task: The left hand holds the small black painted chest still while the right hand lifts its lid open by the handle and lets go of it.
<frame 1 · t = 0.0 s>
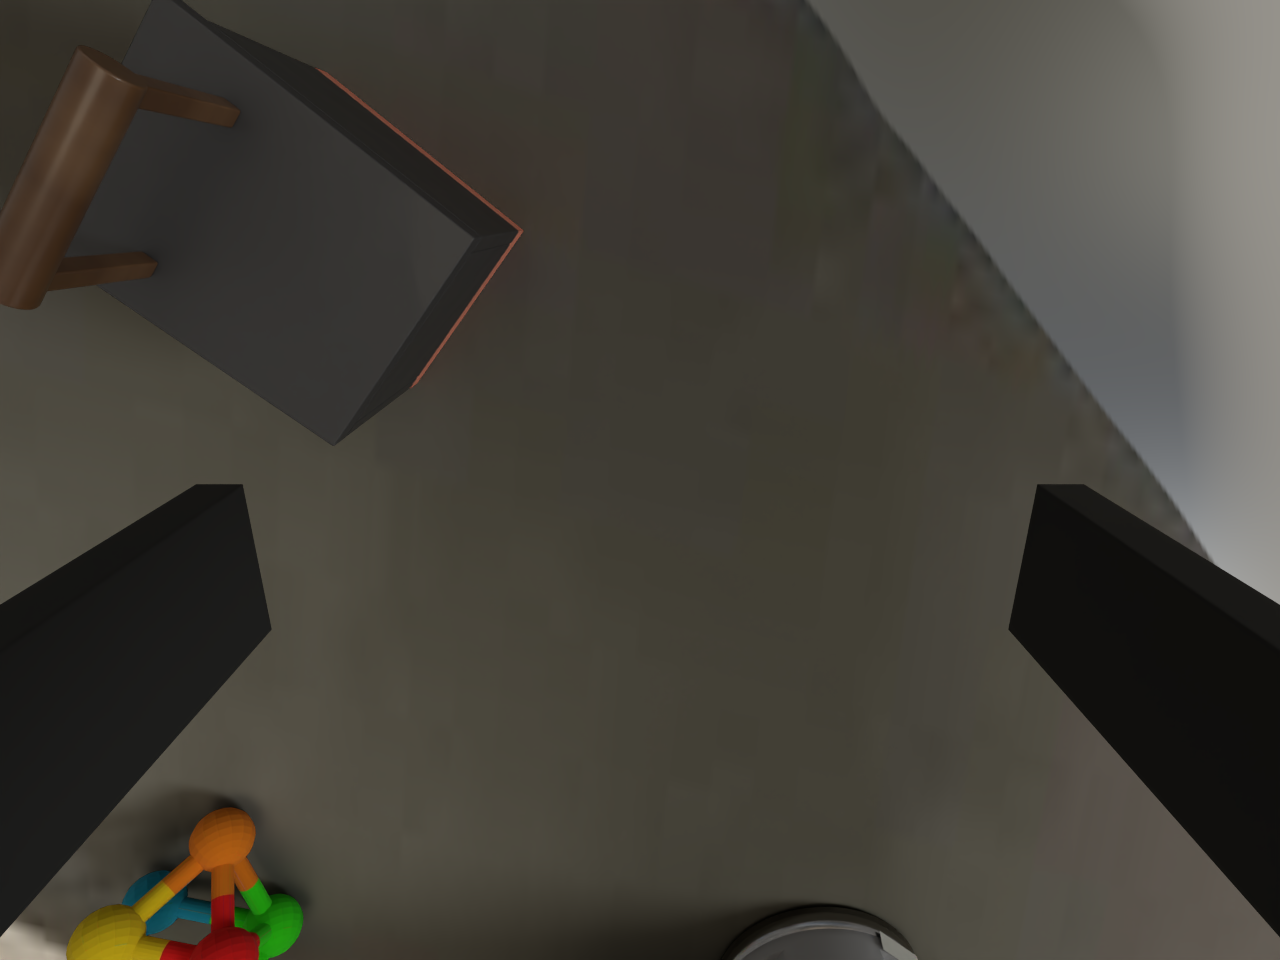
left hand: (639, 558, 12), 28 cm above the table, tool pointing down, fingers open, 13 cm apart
lid: (211, 244, 24), point 14 cm above the table, hinge at 0.0°
chest: (375, 238, 37), on the table
molecular model: (225, 873, 52), on the table
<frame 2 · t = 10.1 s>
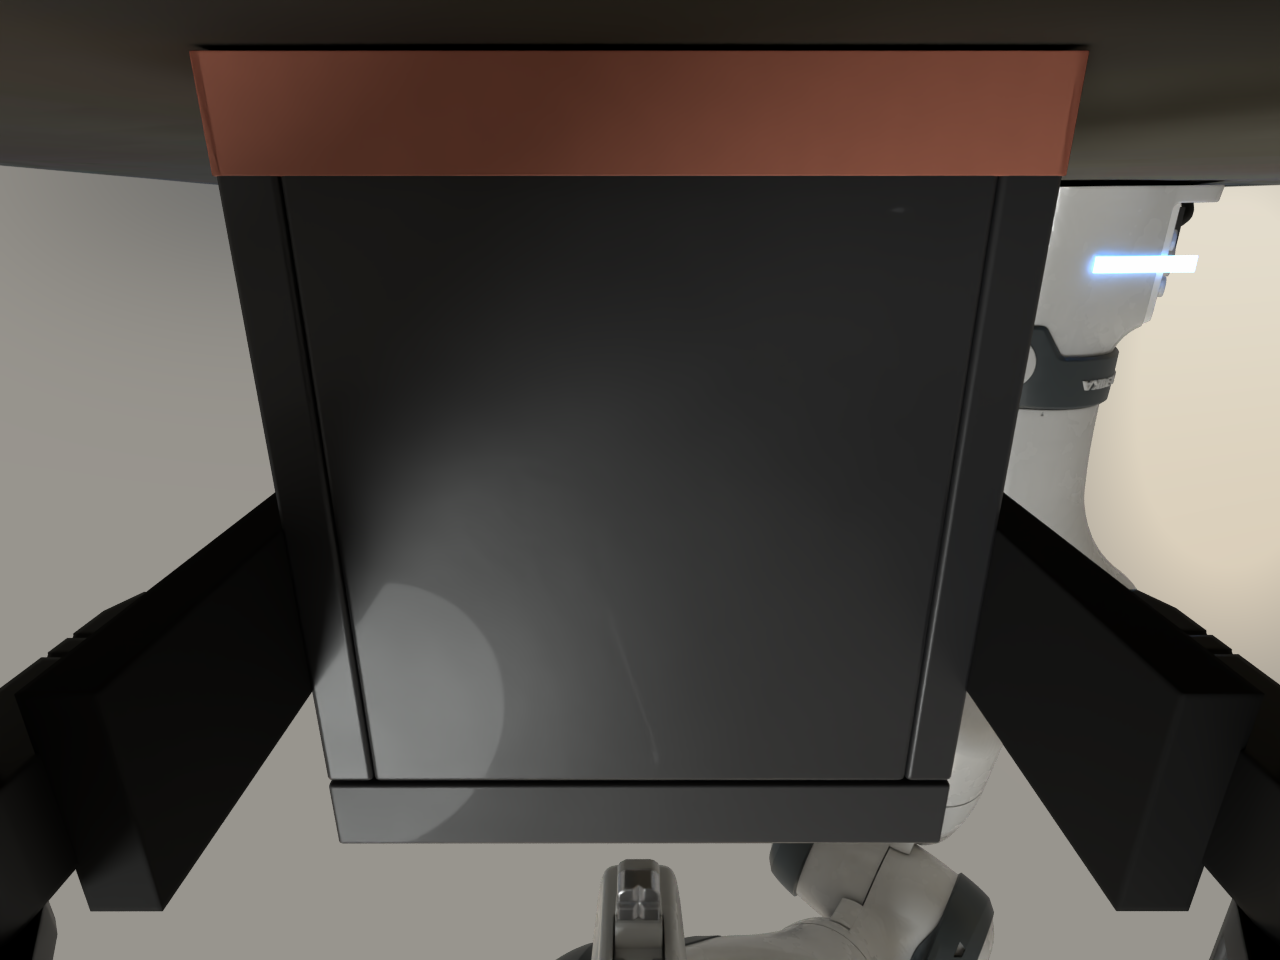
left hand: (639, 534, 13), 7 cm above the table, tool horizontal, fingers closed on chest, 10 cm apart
lid: (639, 733, 19), point 14 cm above the table, hinge at 0.0°
chest: (639, 113, 13), on the table, touching left hand
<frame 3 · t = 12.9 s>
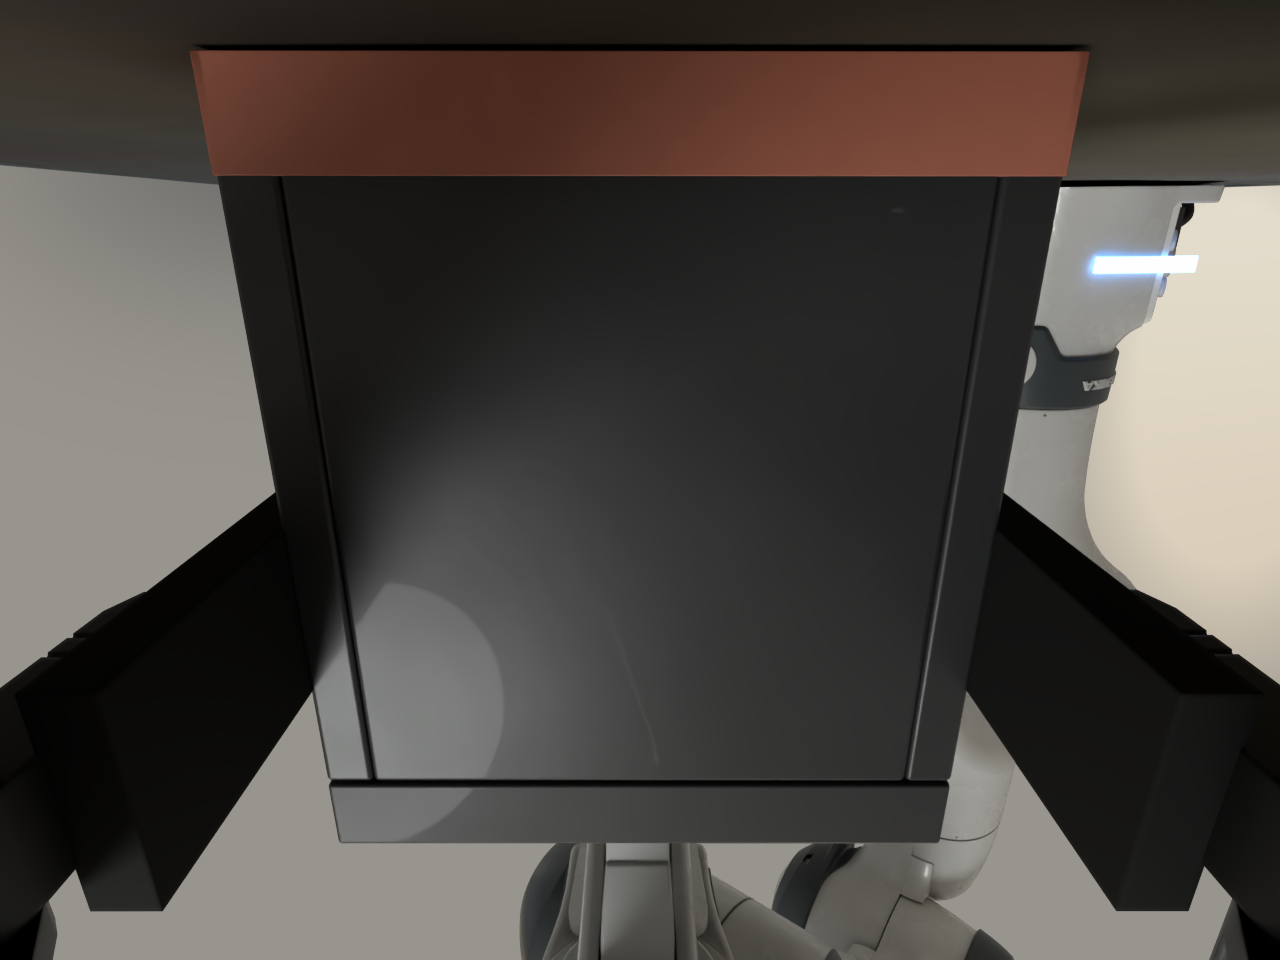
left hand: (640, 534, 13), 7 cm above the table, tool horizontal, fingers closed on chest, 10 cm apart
lid: (639, 732, 19), point 14 cm above the table, hinge at -0.2°, touching right hand
chest: (639, 114, 13), on the table, touching left hand
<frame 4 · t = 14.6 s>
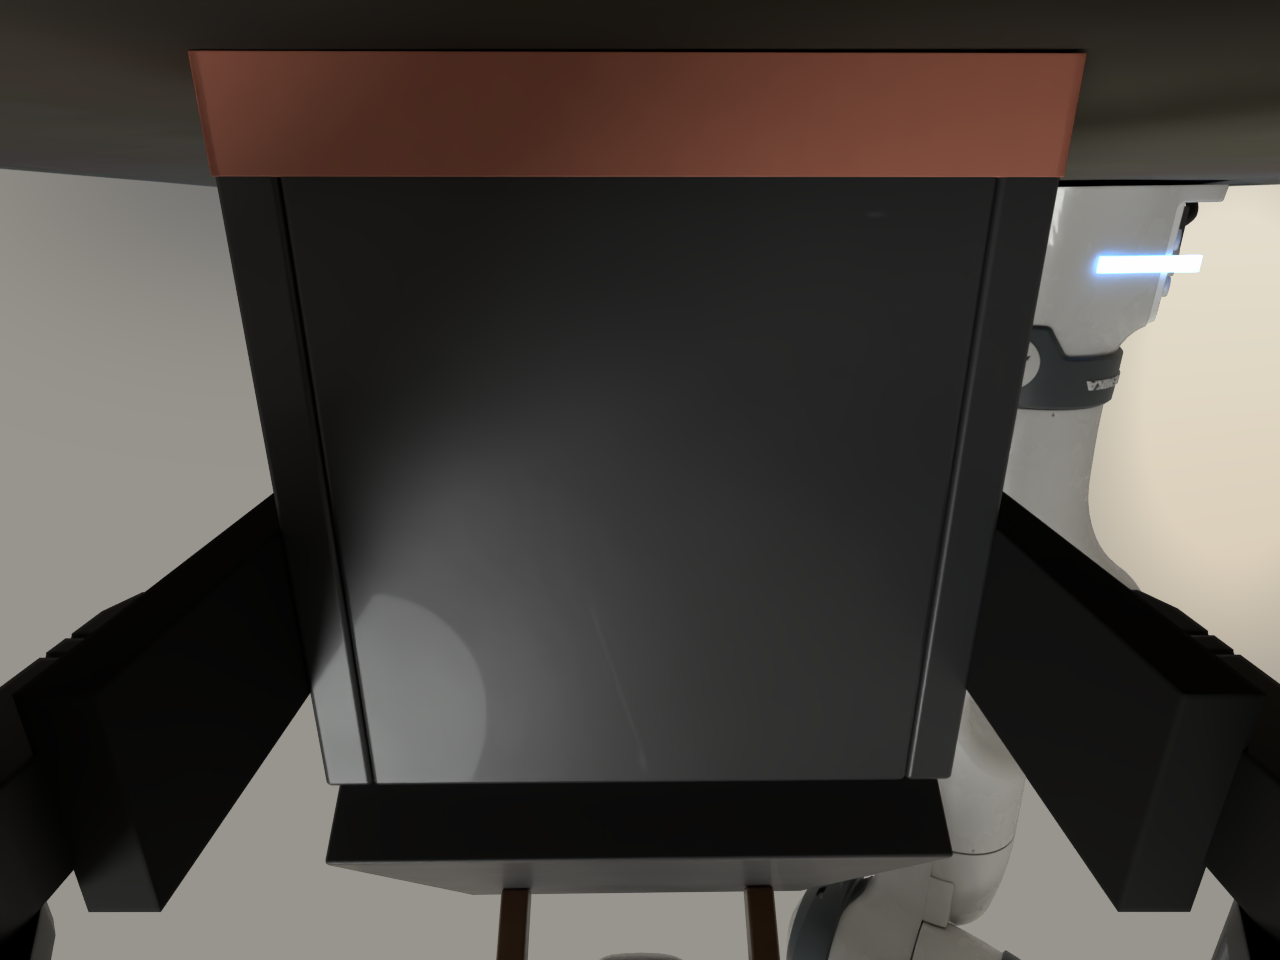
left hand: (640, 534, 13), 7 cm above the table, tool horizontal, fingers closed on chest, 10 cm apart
chest: (636, 115, 13), on the table, touching left hand
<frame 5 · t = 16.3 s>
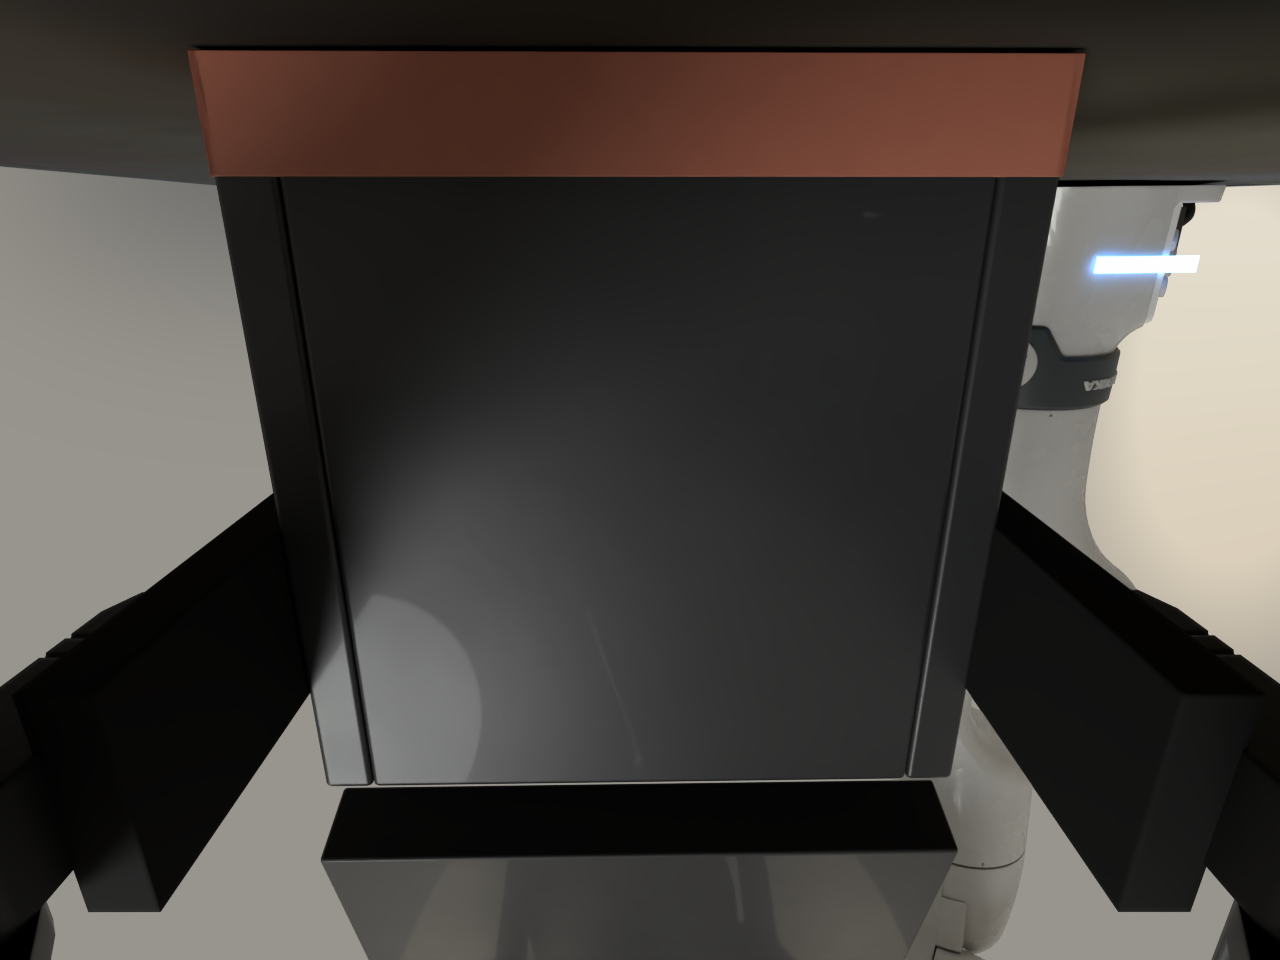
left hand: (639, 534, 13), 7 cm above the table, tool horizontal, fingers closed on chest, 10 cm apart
chest: (635, 115, 13), on the table, touching left hand
when the left hand's fingers open (7 cm above the table, at t = 19.9 s): chest stays where it is, on the table.
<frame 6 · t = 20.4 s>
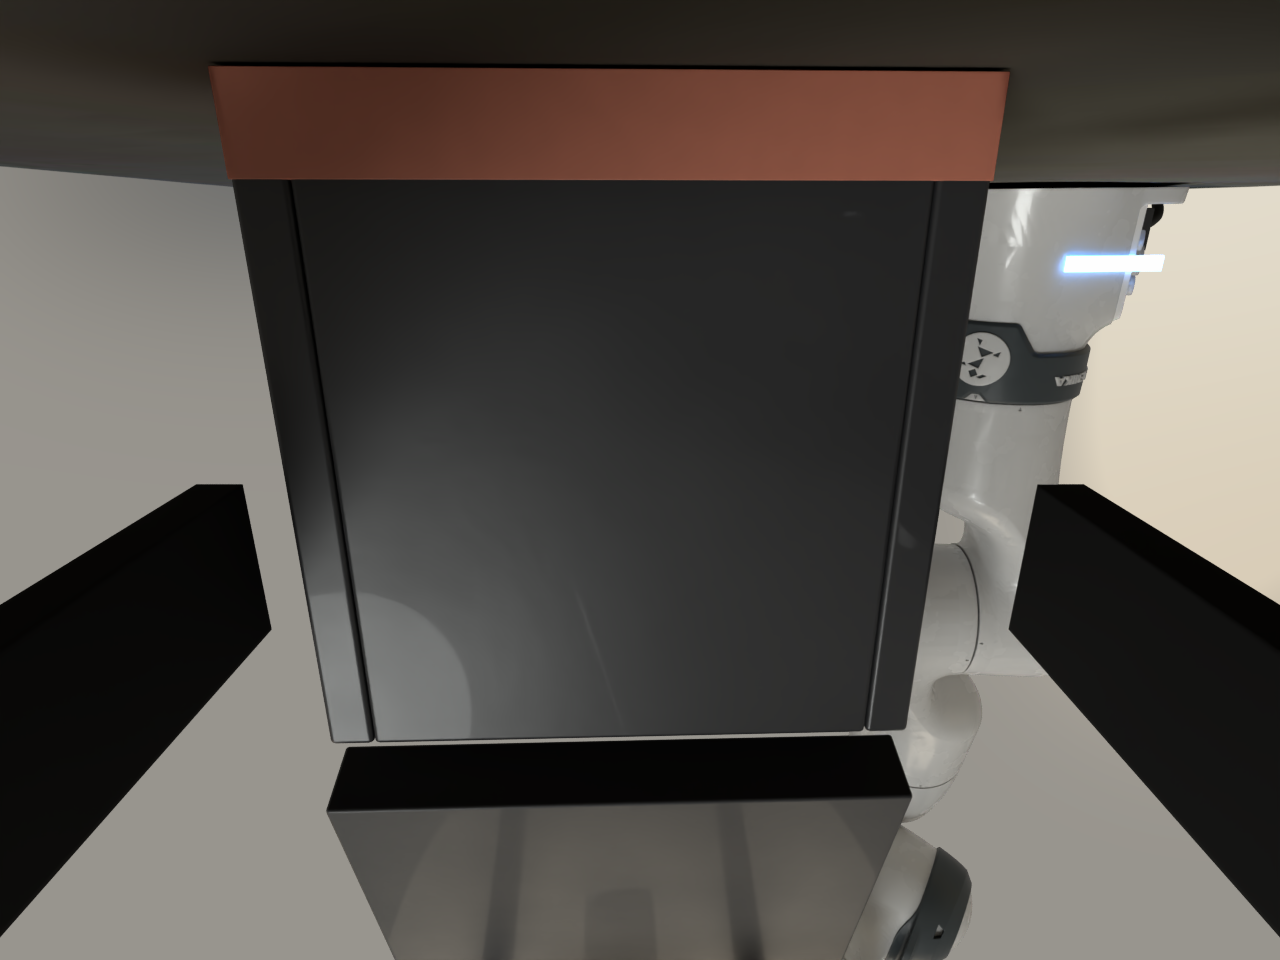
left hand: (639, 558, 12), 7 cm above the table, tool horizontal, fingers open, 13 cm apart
chest: (615, 121, 14), on the table
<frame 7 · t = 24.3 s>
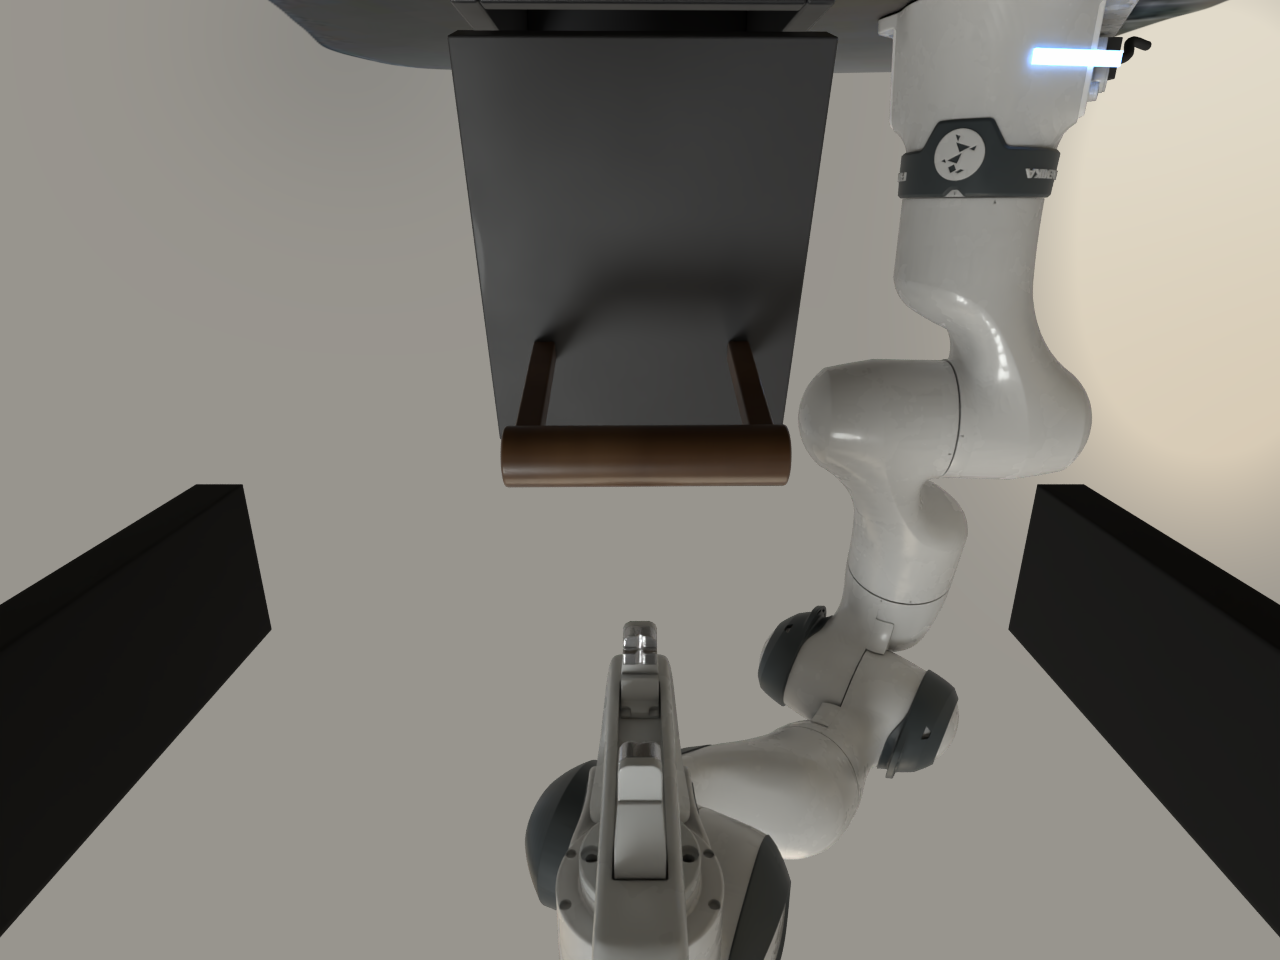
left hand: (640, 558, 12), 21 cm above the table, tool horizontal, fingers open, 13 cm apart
right hand: (640, 682, 34), fingers open, 8 cm apart
lid: (644, 308, 20), point 18 cm above the table, hinge at 73.3°
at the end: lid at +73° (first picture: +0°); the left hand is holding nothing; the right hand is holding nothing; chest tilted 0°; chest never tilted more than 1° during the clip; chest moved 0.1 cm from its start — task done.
